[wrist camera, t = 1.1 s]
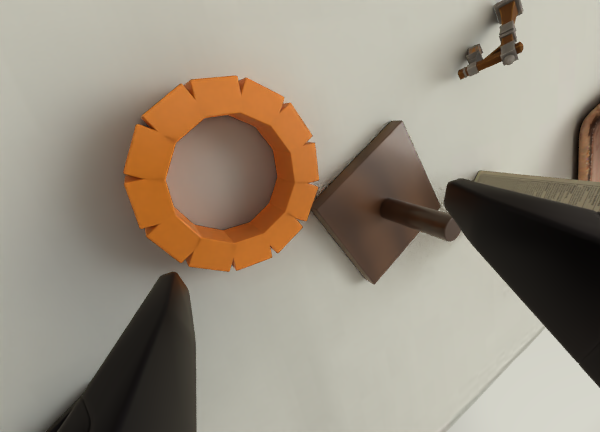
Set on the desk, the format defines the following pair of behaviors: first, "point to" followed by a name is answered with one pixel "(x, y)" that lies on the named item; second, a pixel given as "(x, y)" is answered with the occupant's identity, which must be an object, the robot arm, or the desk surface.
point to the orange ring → (158, 153)
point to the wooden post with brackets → (508, 48)
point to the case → (590, 147)
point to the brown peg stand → (382, 204)
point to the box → (547, 188)
